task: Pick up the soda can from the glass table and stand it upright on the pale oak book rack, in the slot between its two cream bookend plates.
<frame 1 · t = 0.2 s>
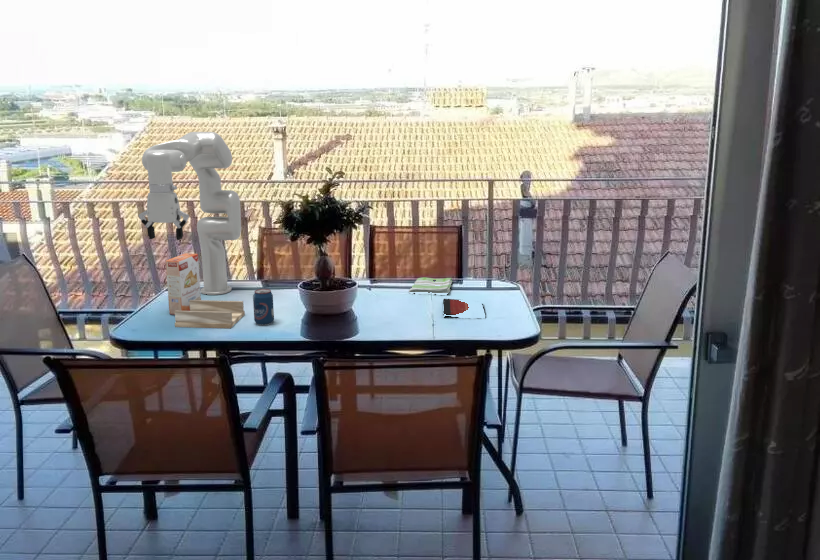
hand: (165, 238, 223), 31 cm above the table, tool pointing down, fingers open, 9 cm apart
dish towel: (431, 289, 282), on the table
cracker box: (186, 310, 248), on the table
book rack: (210, 320, 236), on the table
soda can: (264, 323, 234), on the table
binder: (463, 312, 250), on the table
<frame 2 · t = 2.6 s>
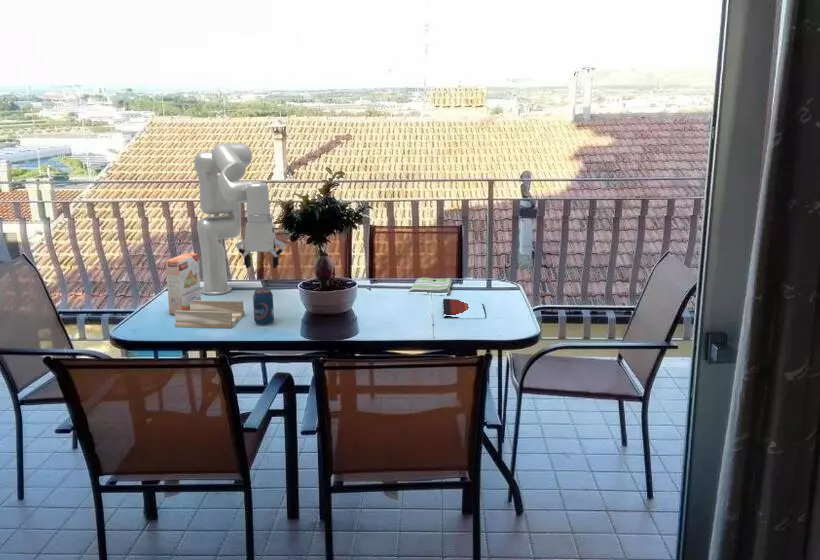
hand: (261, 267, 228), 21 cm above the table, tool pointing down, fingers open, 9 cm apart
nothing on the table moved.
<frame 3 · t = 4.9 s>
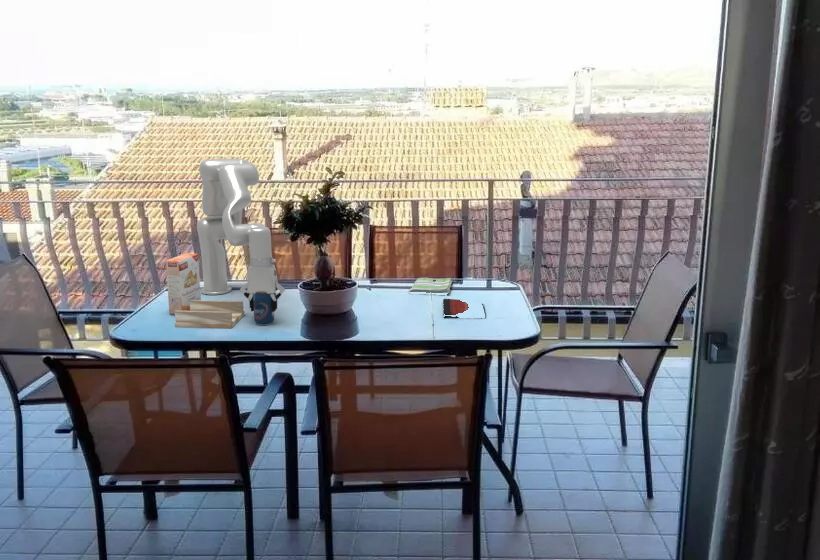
hand: (263, 310, 233), 5 cm above the table, tool pointing down, fingers closed on soda can, 7 cm apart
soda can: (264, 323, 234), on the table, touching gripper
everything else where it was.
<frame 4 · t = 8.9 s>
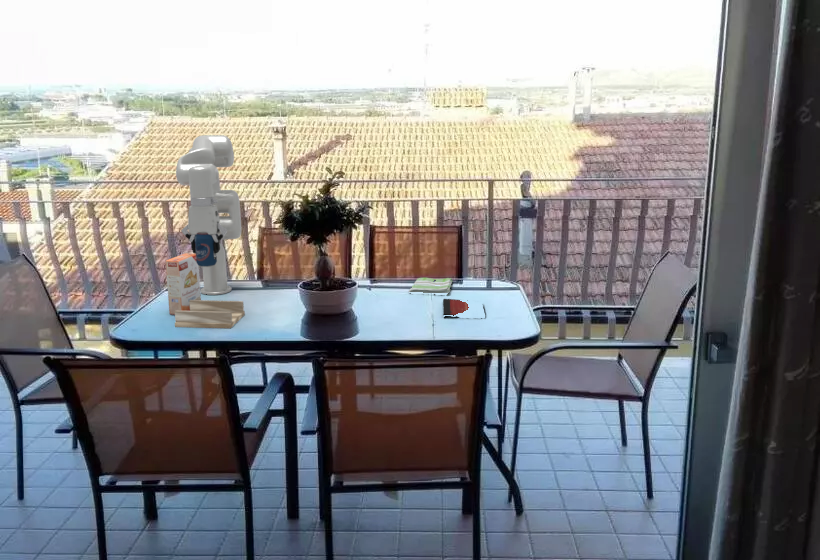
hand: (206, 252, 230), 25 cm above the table, tool pointing down, fingers closed on soda can, 7 cm apart
soda can: (206, 265, 231), point 20 cm above the table, touching gripper
everything else where it was.
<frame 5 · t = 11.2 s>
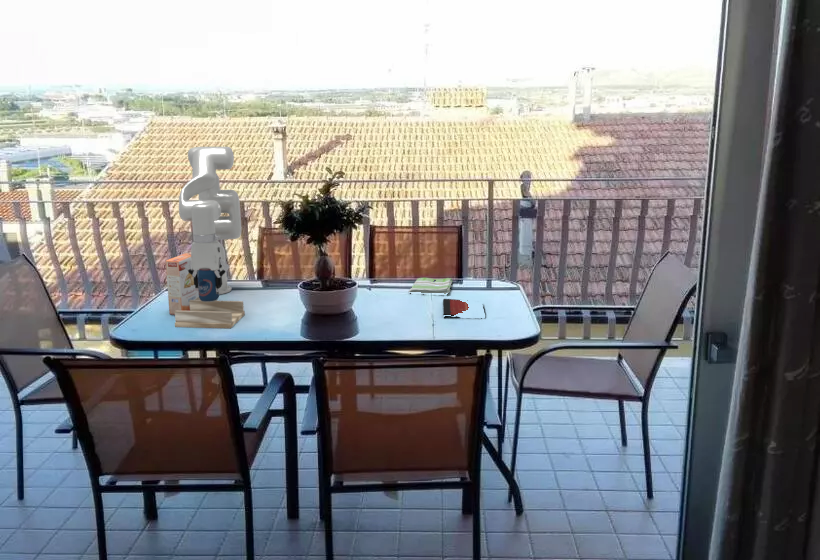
hand: (208, 287, 233), 13 cm above the table, tool pointing down, fingers closed on soda can, 7 cm apart
soda can: (209, 300, 234), point 8 cm above the table, touching gripper
everything else where it was.
when the fingers open (8 cm above the table, at t = 13.2 s): soda can drops 1 cm, resting on book rack.
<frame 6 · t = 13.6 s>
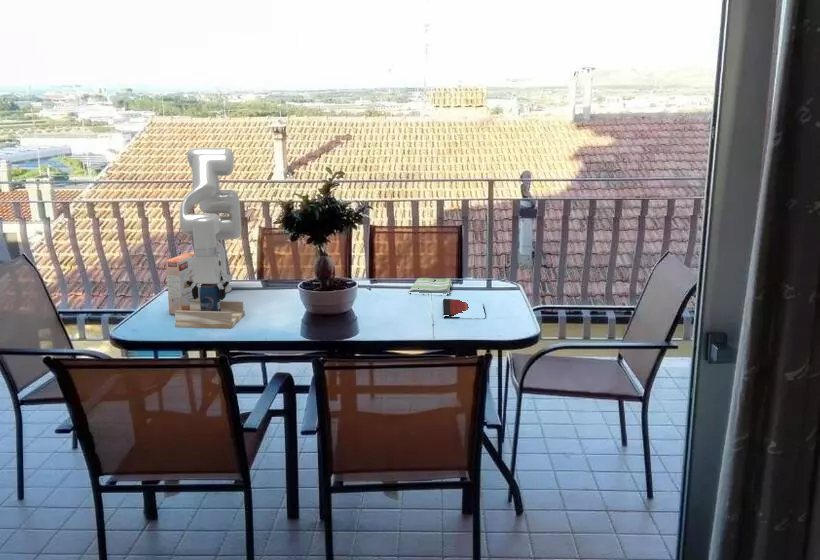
hand: (209, 298, 234), 8 cm above the table, tool pointing down, fingers open, 9 cm apart
soda can: (211, 317, 236), point 1 cm above the table, touching book rack
everything else where it was.
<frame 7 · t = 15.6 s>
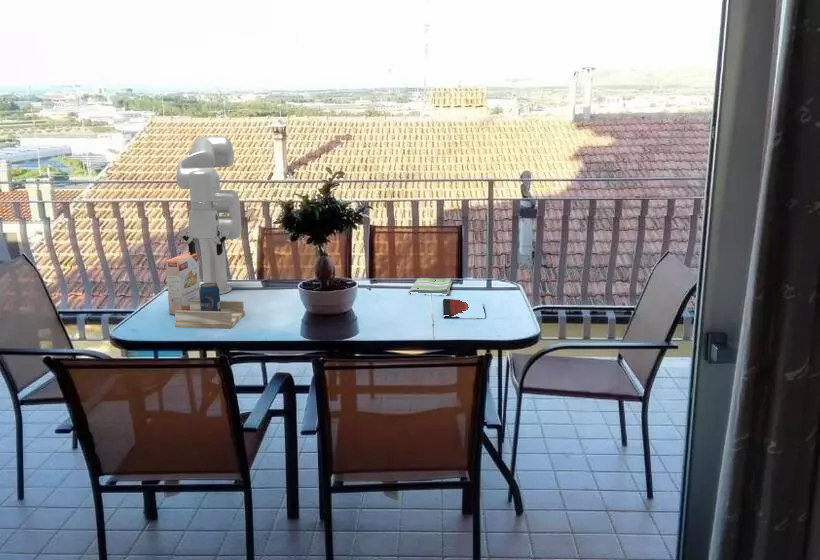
hand: (206, 254, 230), 25 cm above the table, tool pointing down, fingers open, 9 cm apart
nothing on the table moved.
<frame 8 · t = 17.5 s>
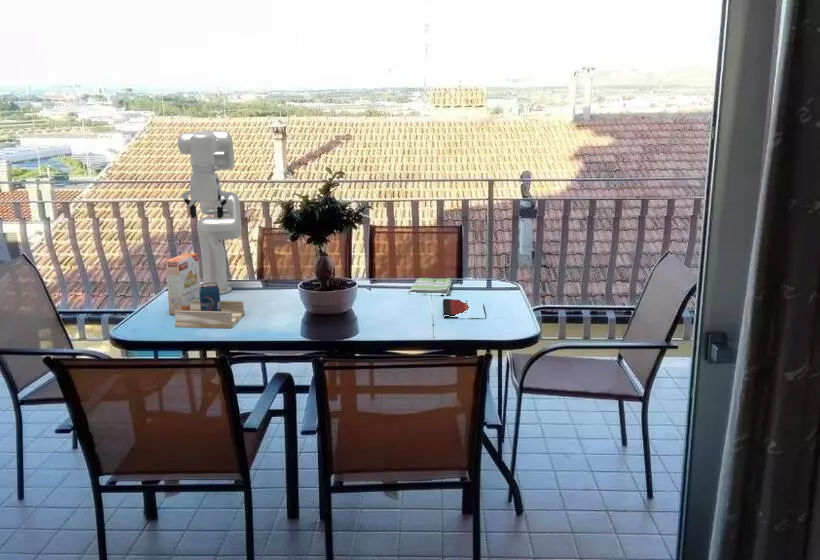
hand: (207, 217, 236), 36 cm above the table, tool pointing down, fingers open, 9 cm apart
nothing on the table moved.
at the end: soda can inside the target area on the book rack (0.3 cm from its centre), point 1.3 cm above the book rack's base; soda can tilted 0°; the gripper is holding nothing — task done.
